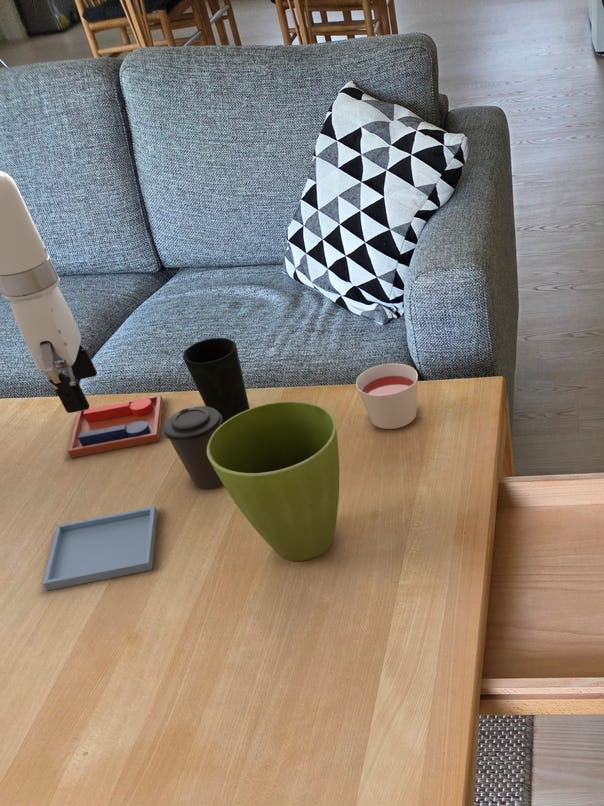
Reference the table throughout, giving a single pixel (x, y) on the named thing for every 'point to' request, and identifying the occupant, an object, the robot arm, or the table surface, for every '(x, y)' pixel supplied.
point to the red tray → (83, 426)
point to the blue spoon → (114, 433)
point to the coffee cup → (195, 442)
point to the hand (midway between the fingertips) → (83, 393)
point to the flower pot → (282, 474)
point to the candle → (389, 394)
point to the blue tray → (101, 548)
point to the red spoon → (119, 410)
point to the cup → (218, 375)
